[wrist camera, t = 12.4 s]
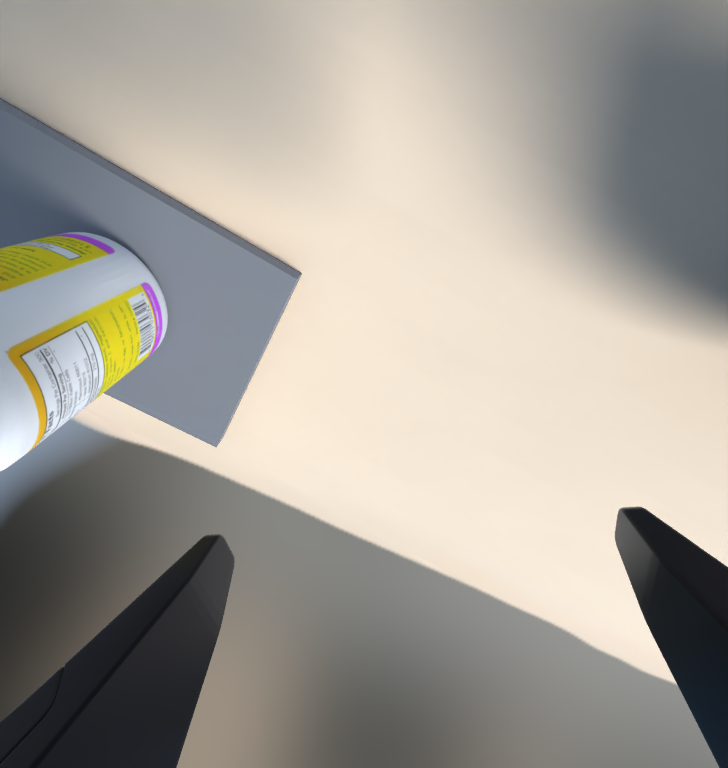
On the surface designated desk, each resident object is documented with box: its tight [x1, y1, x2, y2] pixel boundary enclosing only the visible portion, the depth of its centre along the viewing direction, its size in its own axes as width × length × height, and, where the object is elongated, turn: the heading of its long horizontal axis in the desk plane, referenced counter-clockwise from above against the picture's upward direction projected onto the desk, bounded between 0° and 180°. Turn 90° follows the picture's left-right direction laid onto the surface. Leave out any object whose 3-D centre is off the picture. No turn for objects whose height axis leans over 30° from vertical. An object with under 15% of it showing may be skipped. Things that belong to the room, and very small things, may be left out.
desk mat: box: [0, 99, 302, 447], centre depth 21 cm, size 16×12×1 cm
